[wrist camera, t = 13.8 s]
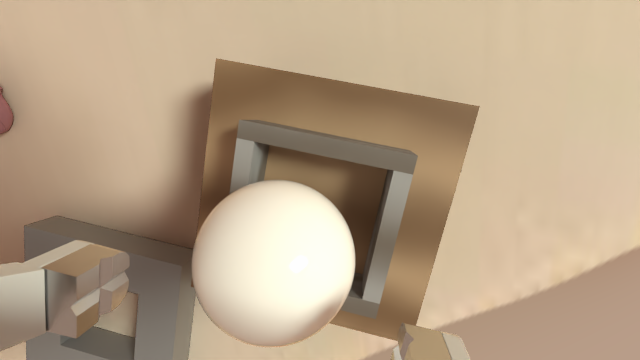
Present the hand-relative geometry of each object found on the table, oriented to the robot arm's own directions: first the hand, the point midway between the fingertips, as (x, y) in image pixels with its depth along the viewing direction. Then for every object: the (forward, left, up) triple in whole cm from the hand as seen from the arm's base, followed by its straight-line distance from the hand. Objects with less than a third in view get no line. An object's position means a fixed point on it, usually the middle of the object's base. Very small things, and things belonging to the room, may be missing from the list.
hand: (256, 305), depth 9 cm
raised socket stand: (0, 0, -18) cm, 18 cm away
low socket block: (+16, -18, -18) cm, 30 cm away
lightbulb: (+1, 0, -12) cm, 12 cm away
